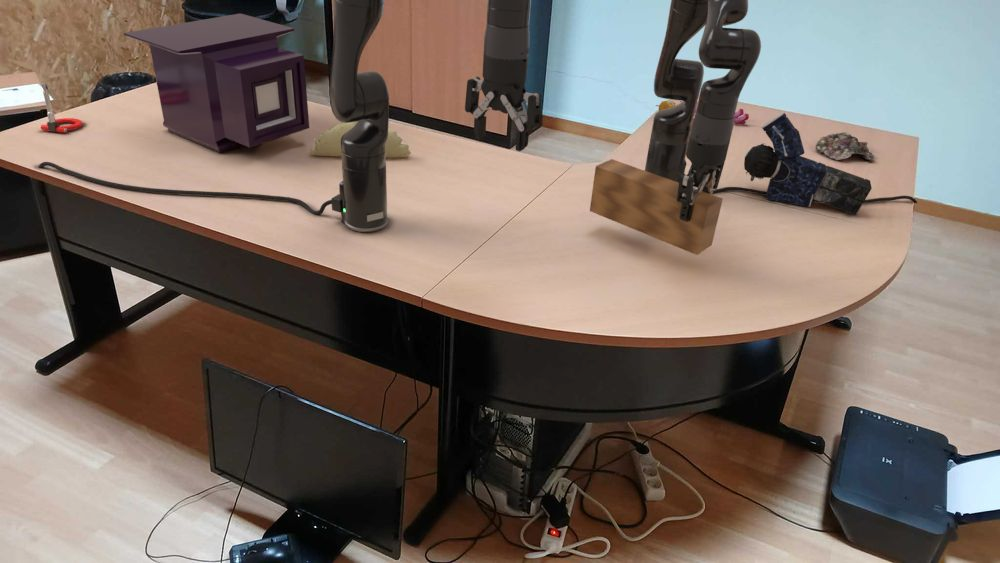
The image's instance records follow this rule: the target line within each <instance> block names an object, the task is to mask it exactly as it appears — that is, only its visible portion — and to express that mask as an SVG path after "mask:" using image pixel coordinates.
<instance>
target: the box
mask: <svg viewBox="0 0 1000 563" xmlns="http://www.w3.org/2000/svg"><path fill="white" fill-rule="evenodd" d="M678 187H679V183H678V182H675V181H672V180H669V179H667V178H664V177H661V176H658V175H655V174H653V173H650V172H647V171H645V169H641V168H638V167H635V166H633V165H630V164H627V163H624V162H622V161H619V160H617V159H613V158H611V159H608V160H606V161H604V162H602V163H600V164H597V165H596V166H595V168H594V177H593V183H592V189H591V198H590V205H589V212H591V213H594V214H596V215H598V216H601V217H603V218H606V219H608V220H611V221H613V222H615V223H617V224H620V225H622V226H624V227H627V228H630V229H633V230H634V231H637V232H640V233H642V234H645V235H647V236H649V237H652V238H654V239H657V240H659V241H662V242H663V243H667V244H668V245H672V246H673V247H677V248H678V249H681V250H684V251H686V252H688V253H690V254H693V255H696V256H698V255H700V254H702V253H703V252H704V251H706V250H708V249H709V248H711V247H712V246H713V242H714V237H715V233H716V229H717V226H718V225H717V224H718V221H719V216H720V212H721V208H722V204H723V200H724V198H723V197H719V196H717V195H715V194H709V193H706V192H703V191H702V192H701V194H700V195H698V196H697V198H696V200H695V202H694V204H693V205H694V206H693V211H692V216H691V220H690V221H688V222H686V221H683V220H681V219H680V218H679V216H680V211H681V206H682V203H680V202H677V194H678ZM693 189H696V187H693ZM682 195H683V194H682ZM692 196H693V193H692ZM691 198H692V197H691Z"/></svg>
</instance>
